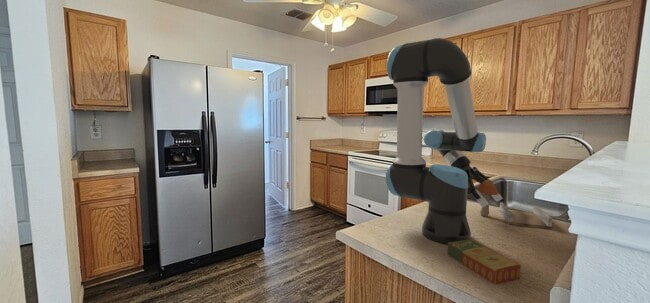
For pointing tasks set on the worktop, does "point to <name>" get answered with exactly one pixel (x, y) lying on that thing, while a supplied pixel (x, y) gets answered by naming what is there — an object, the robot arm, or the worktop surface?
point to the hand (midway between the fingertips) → (493, 202)
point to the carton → (484, 261)
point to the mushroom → (487, 194)
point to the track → (526, 217)
